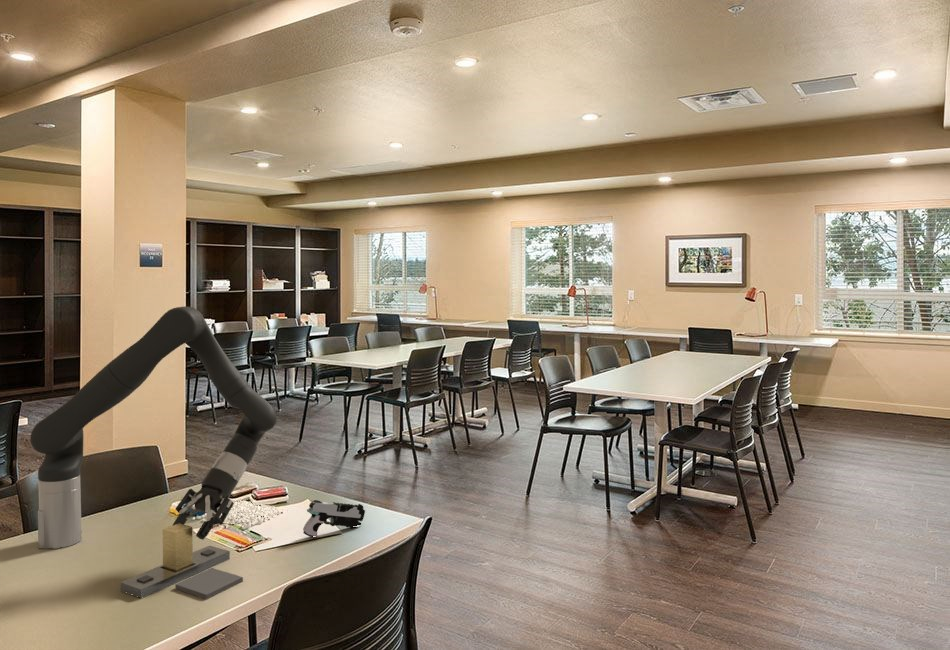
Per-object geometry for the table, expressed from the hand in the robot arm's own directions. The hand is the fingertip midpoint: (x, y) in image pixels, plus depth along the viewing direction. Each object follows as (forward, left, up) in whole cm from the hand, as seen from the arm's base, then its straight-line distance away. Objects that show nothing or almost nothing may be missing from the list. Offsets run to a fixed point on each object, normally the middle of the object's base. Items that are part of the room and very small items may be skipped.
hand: (186, 534), depth 159 cm
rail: (-2, -2, -9) cm, 9 cm away
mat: (+4, -11, -9) cm, 14 cm away
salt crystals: (+17, +33, -9) cm, 39 cm away
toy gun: (+38, +9, -9) cm, 40 cm away
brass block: (-2, -2, -9) cm, 9 cm away
